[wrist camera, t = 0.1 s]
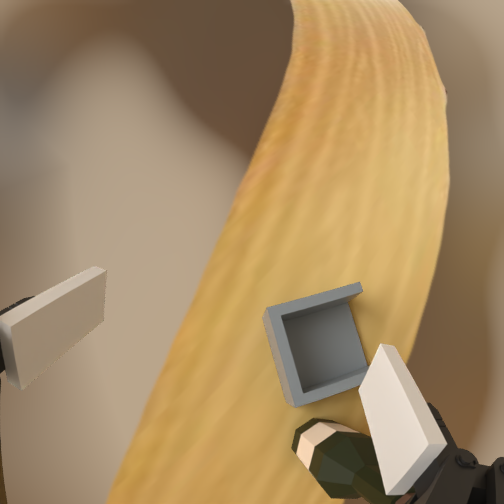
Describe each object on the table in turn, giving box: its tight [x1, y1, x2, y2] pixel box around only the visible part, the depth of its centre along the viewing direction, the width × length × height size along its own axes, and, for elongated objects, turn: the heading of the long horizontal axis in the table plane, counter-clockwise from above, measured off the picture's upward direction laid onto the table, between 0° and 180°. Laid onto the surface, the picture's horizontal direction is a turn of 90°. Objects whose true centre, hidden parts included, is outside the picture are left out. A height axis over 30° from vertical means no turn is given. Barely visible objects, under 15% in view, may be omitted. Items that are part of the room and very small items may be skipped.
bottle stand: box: [262, 282, 370, 408], centre depth 45 cm, size 14×14×8 cm
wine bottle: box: [292, 418, 416, 504], centre depth 29 cm, size 8×8×30 cm
